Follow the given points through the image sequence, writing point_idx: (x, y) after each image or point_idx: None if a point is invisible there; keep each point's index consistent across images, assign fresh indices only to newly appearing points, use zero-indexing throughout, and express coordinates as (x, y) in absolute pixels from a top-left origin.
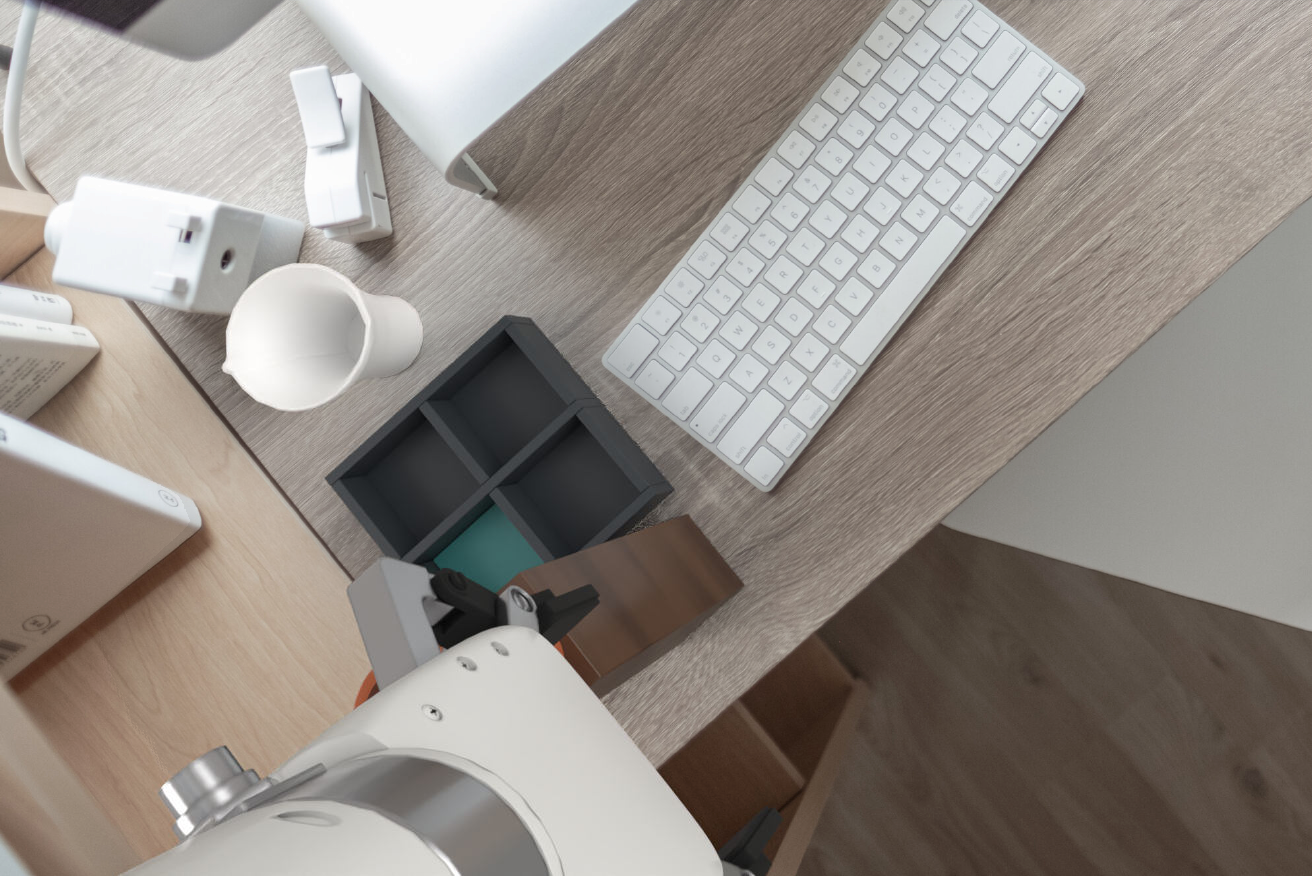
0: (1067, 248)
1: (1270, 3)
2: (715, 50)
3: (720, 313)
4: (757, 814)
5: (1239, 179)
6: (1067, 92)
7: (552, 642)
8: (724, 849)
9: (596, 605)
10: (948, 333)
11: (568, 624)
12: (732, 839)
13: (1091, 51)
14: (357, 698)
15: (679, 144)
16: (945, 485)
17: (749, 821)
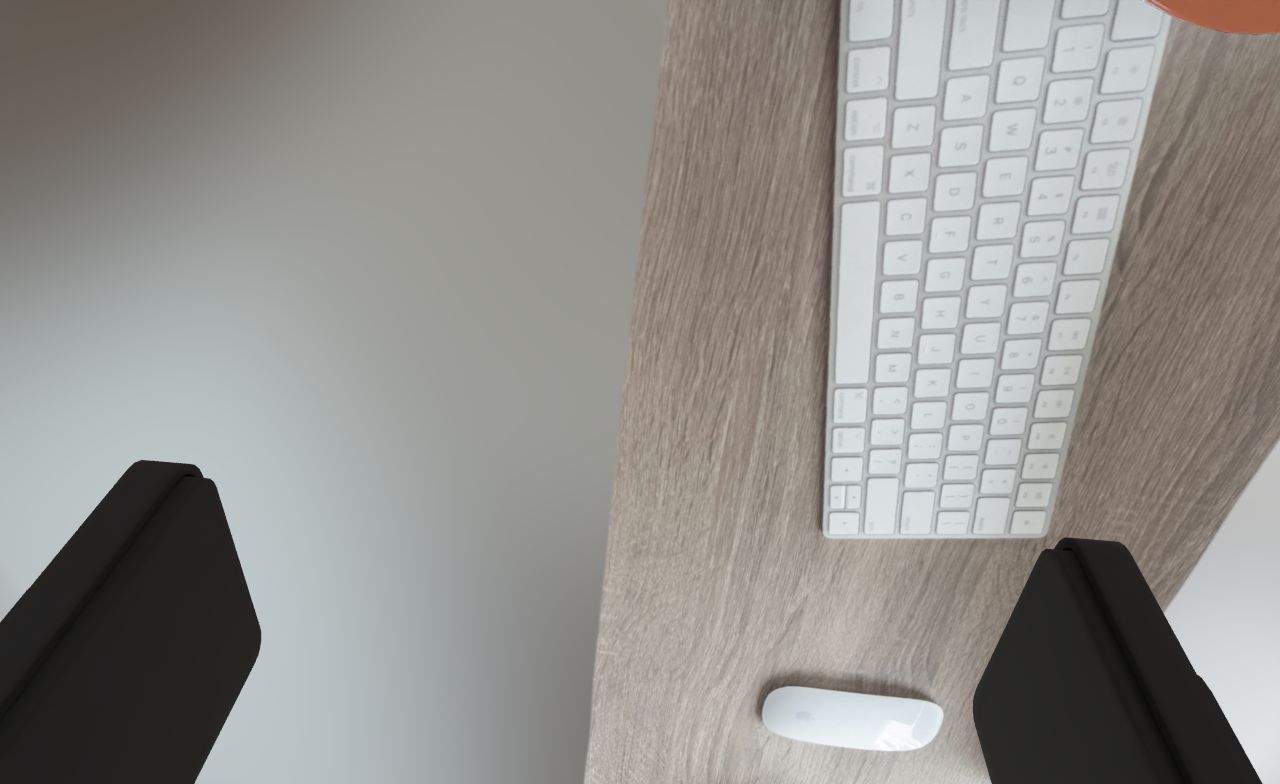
0: (735, 430)
1: (736, 653)
2: (1230, 356)
3: (1048, 129)
4: (247, 644)
5: (651, 553)
6: (837, 526)
7: (1039, 665)
8: (182, 660)
9: (977, 699)
10: (779, 296)
11: (1023, 770)
12: (215, 612)
13: (842, 560)
14: None
15: (1220, 251)
16: (661, 168)
17: (248, 604)
